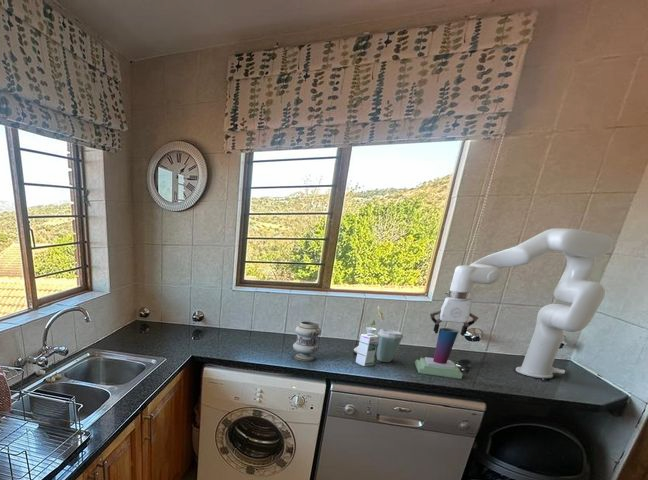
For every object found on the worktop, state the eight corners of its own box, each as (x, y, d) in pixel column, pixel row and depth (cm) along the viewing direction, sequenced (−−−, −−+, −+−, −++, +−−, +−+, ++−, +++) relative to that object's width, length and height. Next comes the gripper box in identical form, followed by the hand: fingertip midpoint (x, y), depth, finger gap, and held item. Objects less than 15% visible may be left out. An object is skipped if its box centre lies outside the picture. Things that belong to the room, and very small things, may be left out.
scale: (454, 368, 187) (457, 361, 186) (461, 378, 175) (463, 371, 174) (414, 363, 194) (416, 356, 192) (418, 372, 182) (420, 365, 181)
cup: (451, 364, 179) (461, 332, 174) (434, 363, 180) (444, 331, 175) (444, 359, 185) (453, 328, 180) (428, 358, 187) (437, 327, 181)
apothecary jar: (294, 352, 208) (299, 318, 201) (318, 356, 202) (325, 321, 196) (288, 359, 198) (294, 323, 192) (314, 363, 193) (320, 327, 186)
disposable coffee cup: (382, 355, 205) (389, 327, 199) (402, 362, 195) (409, 332, 190) (367, 357, 201) (373, 328, 195) (386, 364, 192) (393, 334, 186)
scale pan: (449, 363, 186) (450, 360, 185) (454, 370, 177) (455, 366, 177) (424, 360, 190) (425, 357, 189) (427, 366, 181) (428, 363, 181)
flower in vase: (372, 359, 198) (383, 309, 189) (349, 354, 207) (358, 305, 197) (383, 354, 206) (394, 306, 197) (360, 349, 214) (370, 302, 205)
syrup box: (364, 366, 189) (370, 336, 184) (354, 362, 195) (360, 333, 189) (374, 365, 191) (380, 336, 185) (364, 361, 196) (370, 332, 191)
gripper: (436, 295, 172) (426, 333, 179) (486, 298, 165) (474, 338, 171) (433, 292, 179) (424, 329, 185) (482, 295, 171) (470, 334, 178)
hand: (448, 333), depth 178 cm, fingers open, 9 cm apart
